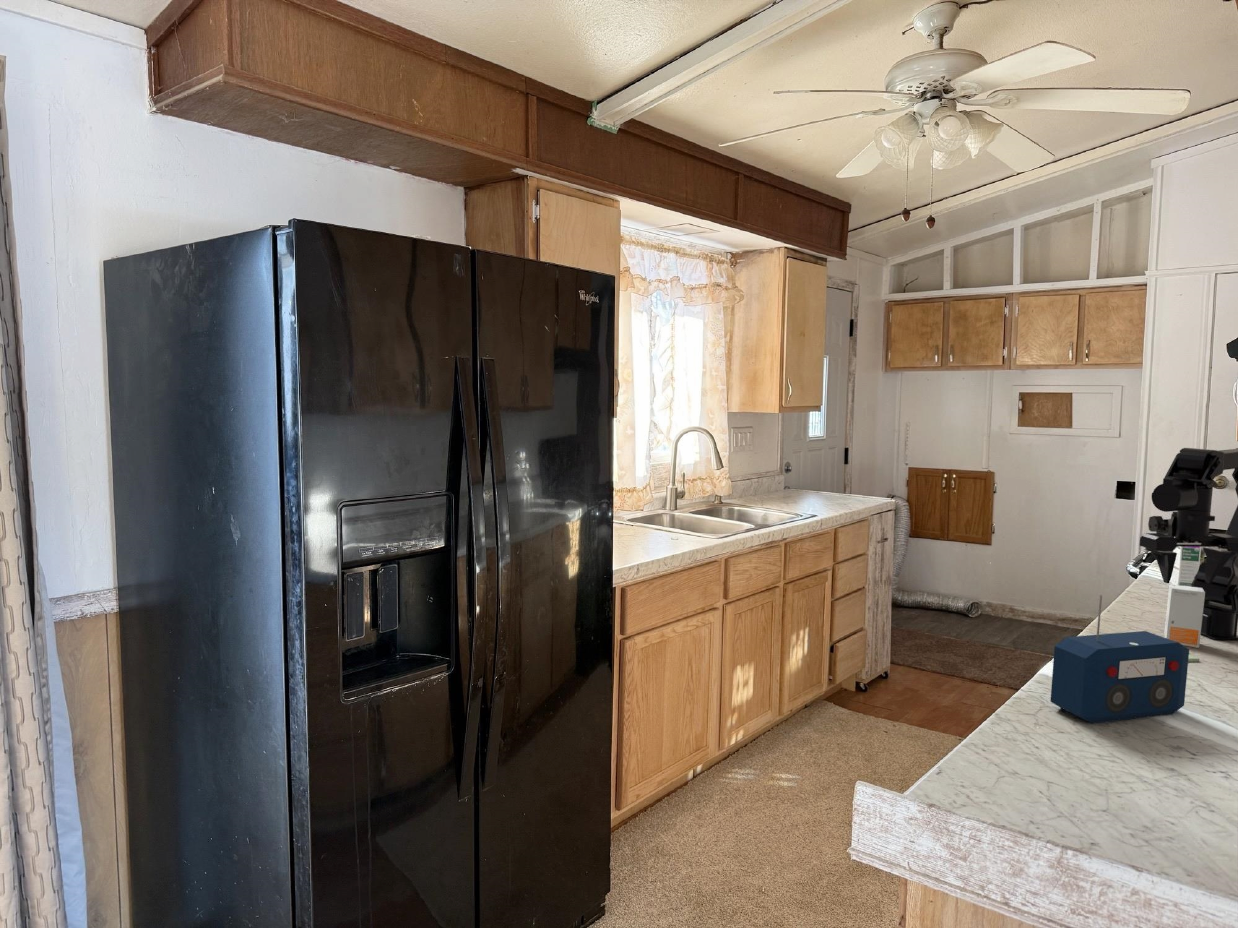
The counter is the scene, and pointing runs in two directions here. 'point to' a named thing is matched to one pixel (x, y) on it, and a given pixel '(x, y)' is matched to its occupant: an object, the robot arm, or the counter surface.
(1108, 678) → the radio
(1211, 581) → the robot arm
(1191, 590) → the skincare box
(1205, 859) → the counter surface
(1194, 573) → the syrup box
